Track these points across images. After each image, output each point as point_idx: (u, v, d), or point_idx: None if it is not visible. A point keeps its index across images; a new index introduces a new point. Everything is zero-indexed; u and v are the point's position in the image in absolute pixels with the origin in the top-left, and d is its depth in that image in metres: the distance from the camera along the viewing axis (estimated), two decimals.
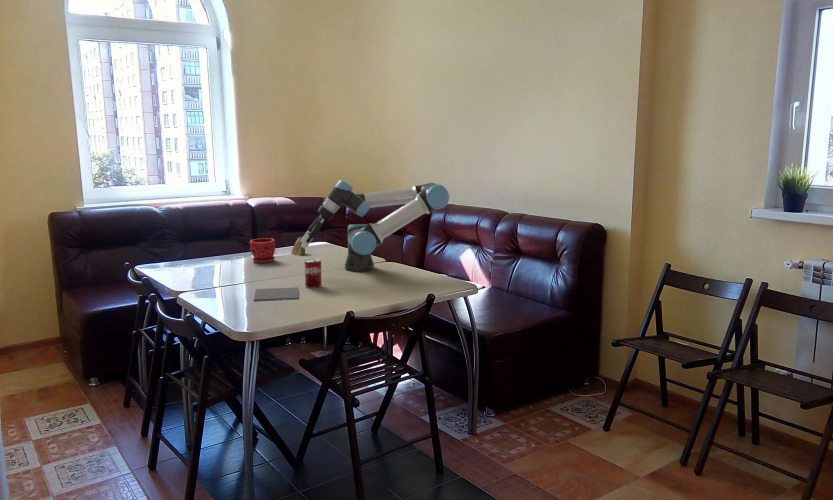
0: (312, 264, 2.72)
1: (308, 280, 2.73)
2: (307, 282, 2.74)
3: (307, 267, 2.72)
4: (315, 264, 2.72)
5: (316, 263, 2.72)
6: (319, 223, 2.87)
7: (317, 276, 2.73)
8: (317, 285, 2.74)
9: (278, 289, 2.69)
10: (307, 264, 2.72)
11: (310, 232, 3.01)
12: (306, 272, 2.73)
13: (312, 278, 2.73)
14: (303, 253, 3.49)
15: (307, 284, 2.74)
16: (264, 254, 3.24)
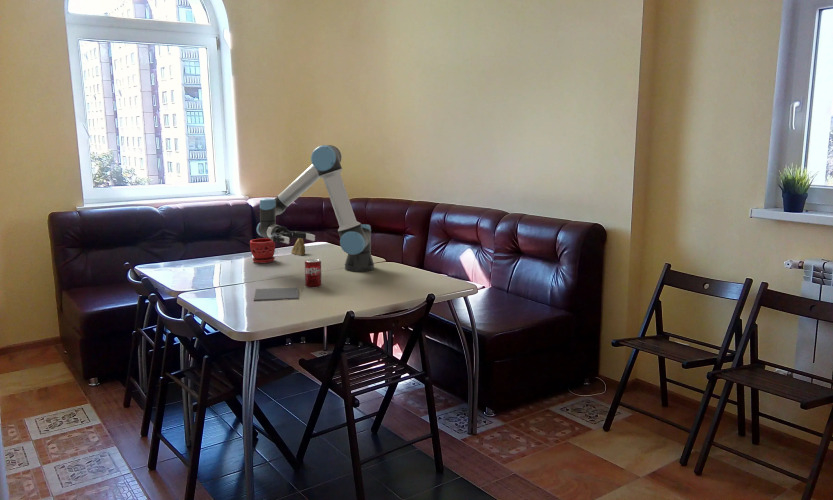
0: (312, 264, 2.72)
1: (308, 281, 2.73)
2: (307, 282, 2.74)
3: (307, 267, 2.72)
4: (315, 264, 2.72)
5: (316, 263, 2.72)
6: (272, 237, 2.86)
7: (317, 276, 2.73)
8: (317, 285, 2.74)
9: (278, 289, 2.69)
10: (307, 264, 2.72)
11: (306, 235, 2.89)
12: (306, 272, 2.73)
13: (312, 278, 2.73)
14: (303, 253, 3.49)
15: (307, 284, 2.74)
16: (264, 254, 3.24)
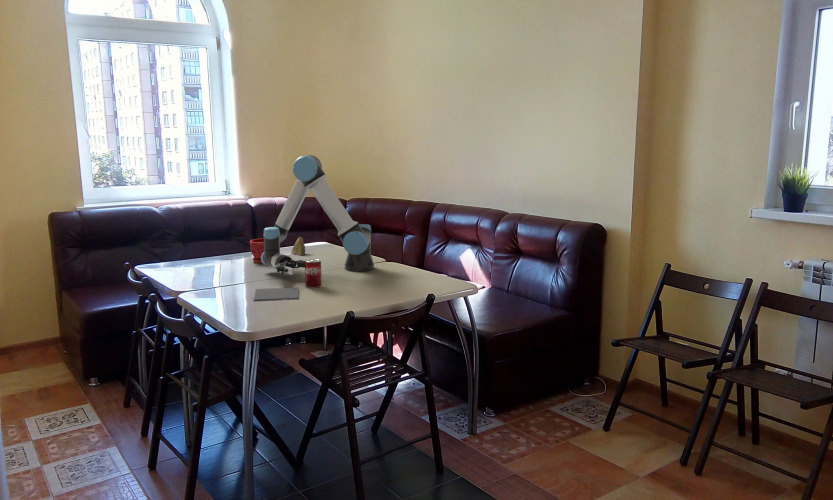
0: (312, 264, 2.72)
1: (308, 281, 2.73)
2: (307, 282, 2.74)
3: (307, 267, 2.72)
4: (315, 264, 2.72)
5: (316, 263, 2.72)
6: (276, 267, 2.85)
7: (317, 276, 2.73)
8: (317, 285, 2.74)
9: (278, 289, 2.69)
10: (307, 264, 2.72)
11: None
12: (306, 272, 2.73)
13: (312, 278, 2.73)
14: (303, 253, 3.49)
15: (307, 284, 2.74)
16: None
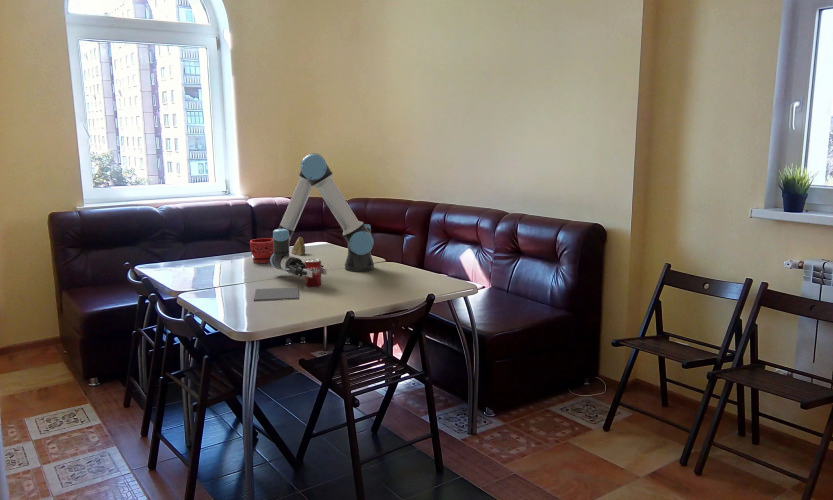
0: (312, 264, 2.72)
1: (308, 280, 2.73)
2: (307, 282, 2.74)
3: (307, 267, 2.72)
4: (315, 264, 2.72)
5: (316, 263, 2.72)
6: (289, 270, 2.78)
7: (317, 276, 2.73)
8: (317, 285, 2.74)
9: (278, 289, 2.69)
10: (307, 264, 2.72)
11: None
12: None
13: (312, 278, 2.73)
14: (303, 253, 3.49)
15: (307, 284, 2.74)
16: (264, 254, 3.24)
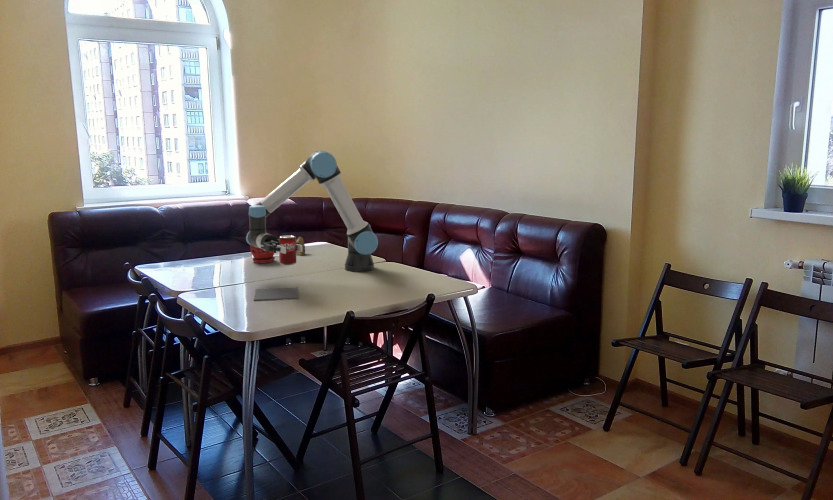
0: (286, 240, 2.62)
1: (282, 257, 2.63)
2: (281, 259, 2.64)
3: (281, 243, 2.62)
4: (289, 240, 2.62)
5: (290, 239, 2.62)
6: (264, 247, 2.68)
7: (291, 253, 2.63)
8: (291, 262, 2.64)
9: (278, 289, 2.69)
10: (281, 240, 2.62)
11: None
12: None
13: (286, 254, 2.63)
14: (303, 253, 3.49)
15: (281, 260, 2.64)
16: (264, 254, 3.24)
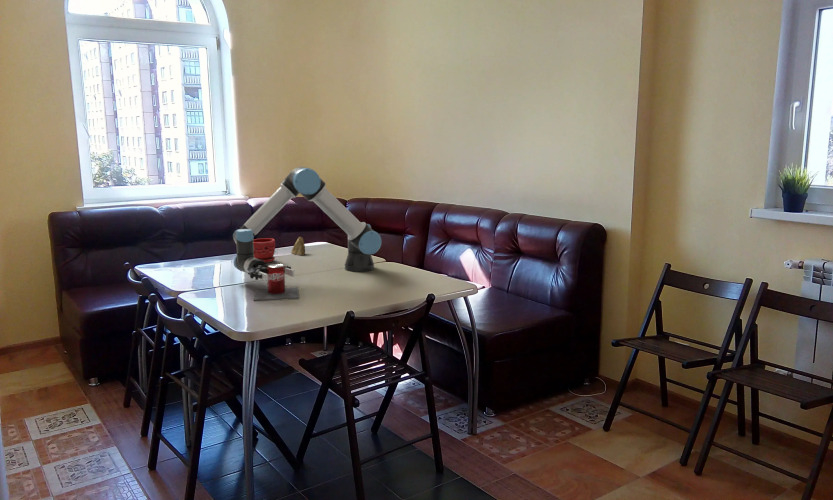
0: (274, 269, 2.57)
1: (271, 287, 2.58)
2: (269, 288, 2.59)
3: (269, 273, 2.57)
4: (277, 269, 2.57)
5: (279, 268, 2.57)
6: (249, 273, 2.63)
7: (279, 282, 2.58)
8: (280, 292, 2.59)
9: None
10: (269, 269, 2.57)
11: (285, 270, 2.67)
12: (268, 278, 2.58)
13: (274, 284, 2.58)
14: (303, 253, 3.49)
15: (269, 290, 2.59)
16: (264, 254, 3.24)
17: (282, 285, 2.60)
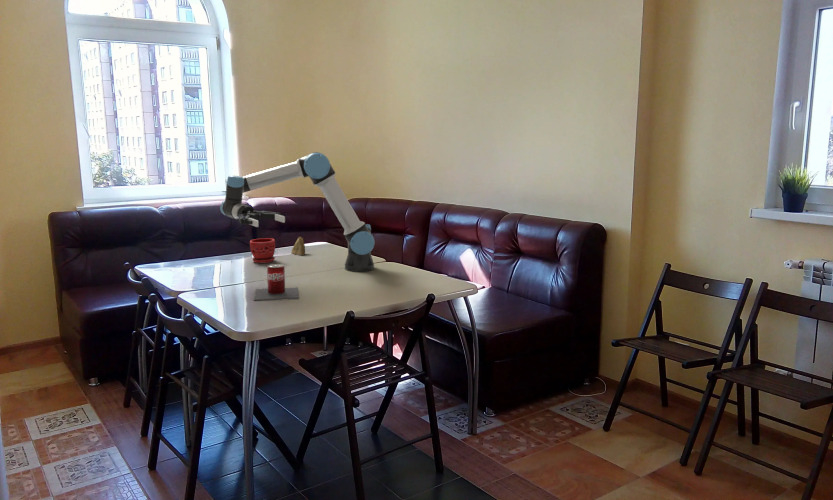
0: (274, 269, 2.57)
1: (271, 287, 2.58)
2: (269, 288, 2.59)
3: (269, 273, 2.57)
4: (278, 269, 2.57)
5: (279, 268, 2.57)
6: (239, 218, 2.70)
7: (279, 282, 2.58)
8: (280, 292, 2.59)
9: None
10: (269, 269, 2.57)
11: (275, 216, 2.75)
12: (268, 278, 2.58)
13: (274, 284, 2.58)
14: (303, 253, 3.49)
15: (269, 290, 2.59)
16: (264, 254, 3.24)
17: (282, 285, 2.60)
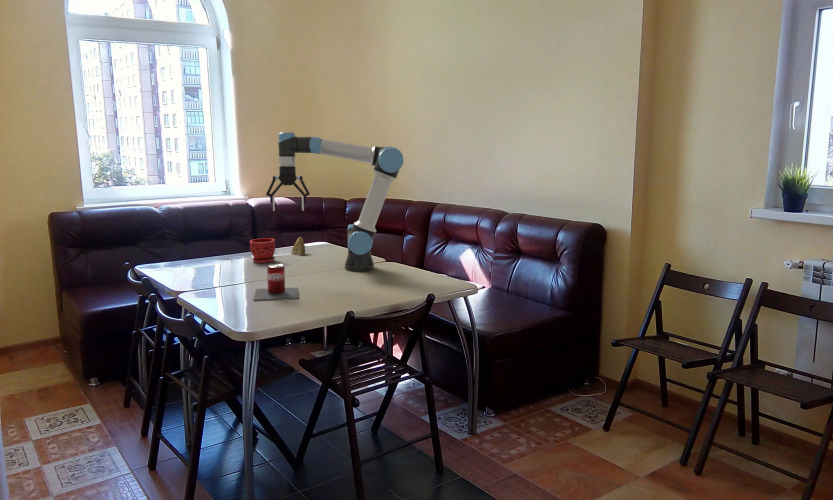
0: (274, 269, 2.57)
1: (271, 287, 2.58)
2: (269, 288, 2.59)
3: (269, 273, 2.57)
4: (278, 269, 2.57)
5: (279, 268, 2.57)
6: (272, 181, 2.90)
7: (279, 282, 2.58)
8: (280, 292, 2.59)
9: None
10: (269, 269, 2.57)
11: (302, 196, 2.93)
12: (268, 278, 2.58)
13: (274, 284, 2.58)
14: (303, 253, 3.49)
15: (269, 290, 2.59)
16: (264, 254, 3.24)
17: (282, 285, 2.60)
